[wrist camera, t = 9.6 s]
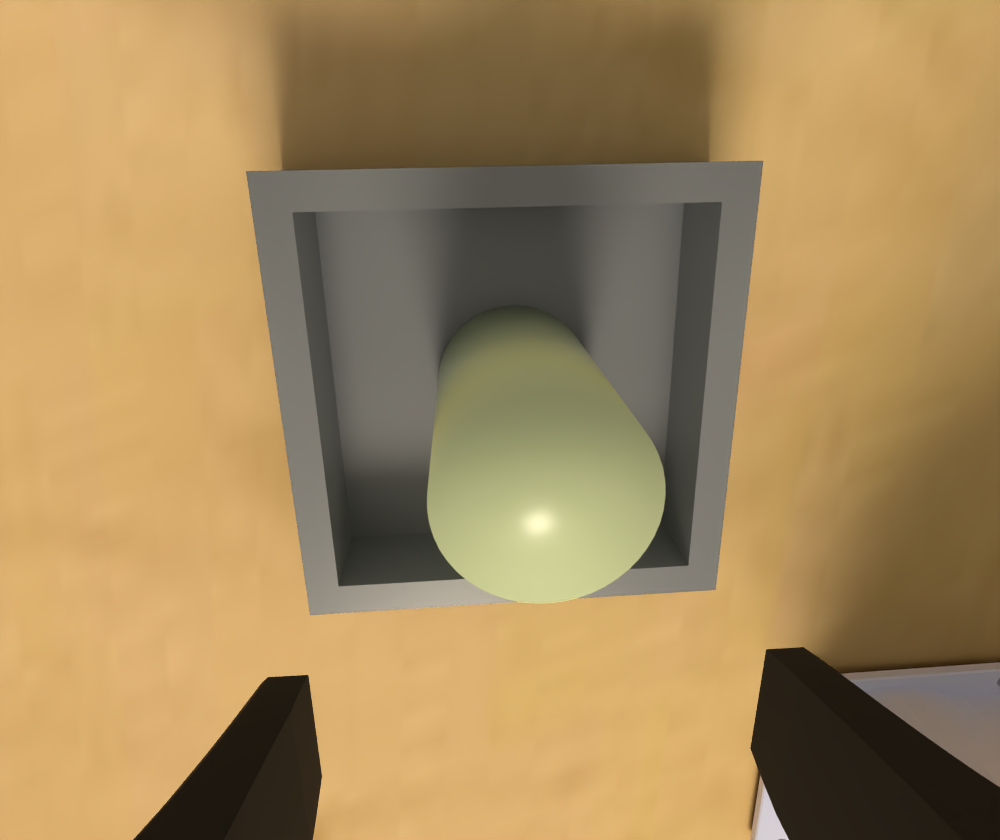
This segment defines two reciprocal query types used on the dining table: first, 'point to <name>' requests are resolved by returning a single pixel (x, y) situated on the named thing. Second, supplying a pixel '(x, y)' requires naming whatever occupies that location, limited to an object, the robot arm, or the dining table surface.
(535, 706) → the dining table surface
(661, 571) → the tray
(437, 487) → the pale green cylinder
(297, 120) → the dining table surface
